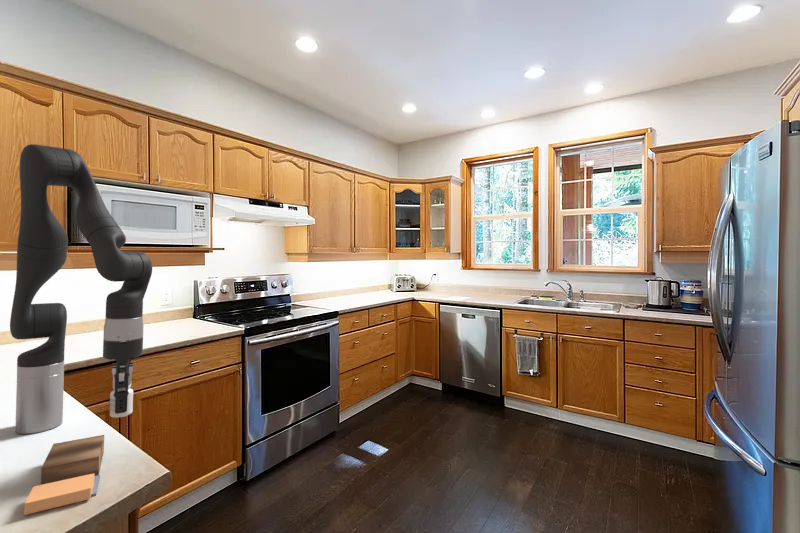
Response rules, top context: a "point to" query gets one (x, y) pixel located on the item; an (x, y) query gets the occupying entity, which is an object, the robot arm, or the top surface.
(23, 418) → the robot arm
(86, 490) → the thin peach tile
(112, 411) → the pill bottle
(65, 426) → the top surface
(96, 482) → the mat
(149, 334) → the top surface
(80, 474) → the block
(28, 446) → the top surface
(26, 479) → the top surface
